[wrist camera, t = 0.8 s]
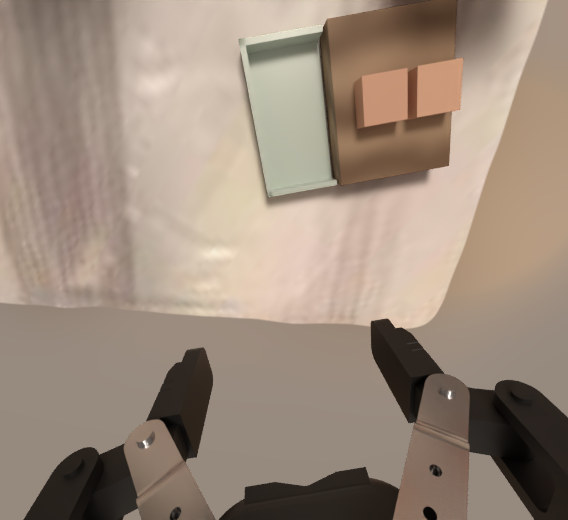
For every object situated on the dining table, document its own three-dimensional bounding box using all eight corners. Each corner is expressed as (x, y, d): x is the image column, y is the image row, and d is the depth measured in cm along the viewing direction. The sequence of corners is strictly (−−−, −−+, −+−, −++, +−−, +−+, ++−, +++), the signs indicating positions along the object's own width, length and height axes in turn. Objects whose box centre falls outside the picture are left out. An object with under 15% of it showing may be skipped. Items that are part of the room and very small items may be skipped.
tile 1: (354, 82, 29) (361, 76, 26) (395, 75, 29) (407, 67, 26) (356, 129, 30) (364, 126, 28) (396, 122, 30) (407, 119, 28)
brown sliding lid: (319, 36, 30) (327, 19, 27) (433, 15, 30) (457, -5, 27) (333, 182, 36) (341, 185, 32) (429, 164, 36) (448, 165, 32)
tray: (241, 50, 30) (238, 39, 27) (316, 36, 30) (322, 24, 27) (267, 194, 36) (268, 197, 33) (331, 182, 36) (337, 184, 33)
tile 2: (405, 73, 29) (417, 65, 26) (447, 65, 29) (463, 57, 26) (405, 120, 30) (417, 117, 28) (445, 113, 30) (460, 109, 28)
